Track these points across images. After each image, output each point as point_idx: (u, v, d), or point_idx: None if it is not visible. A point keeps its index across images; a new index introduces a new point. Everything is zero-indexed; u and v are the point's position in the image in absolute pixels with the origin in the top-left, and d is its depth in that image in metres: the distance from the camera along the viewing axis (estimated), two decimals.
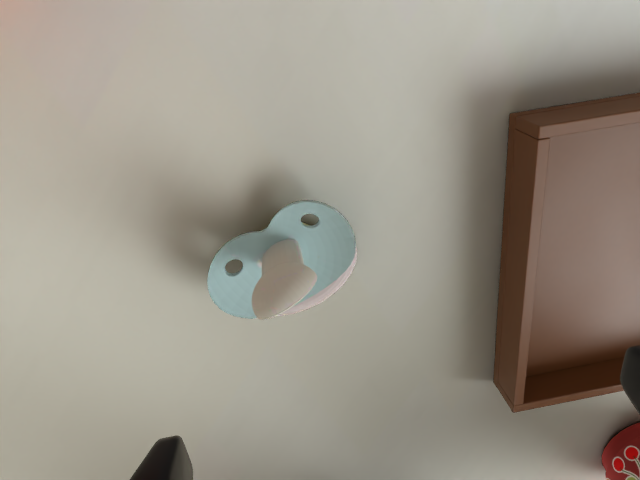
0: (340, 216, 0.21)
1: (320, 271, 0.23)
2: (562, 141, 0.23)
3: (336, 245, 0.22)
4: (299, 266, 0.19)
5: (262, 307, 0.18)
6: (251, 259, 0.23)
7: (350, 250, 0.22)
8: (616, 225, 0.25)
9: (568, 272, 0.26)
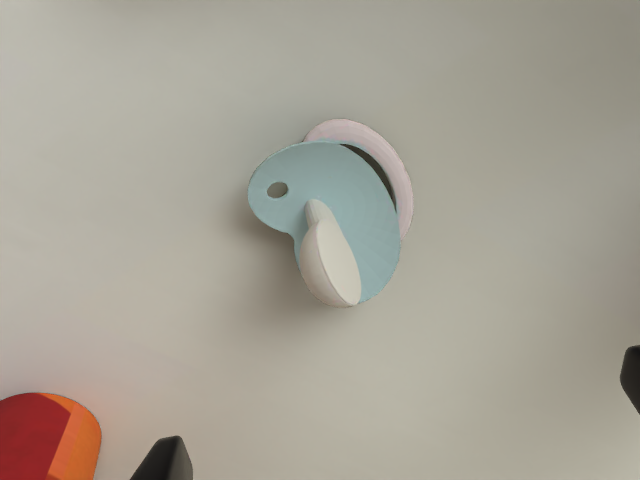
0: (263, 166, 0.17)
1: (350, 175, 0.18)
2: None
3: (310, 160, 0.17)
4: (300, 247, 0.16)
5: (336, 306, 0.15)
6: None
7: (315, 147, 0.17)
8: None
9: None
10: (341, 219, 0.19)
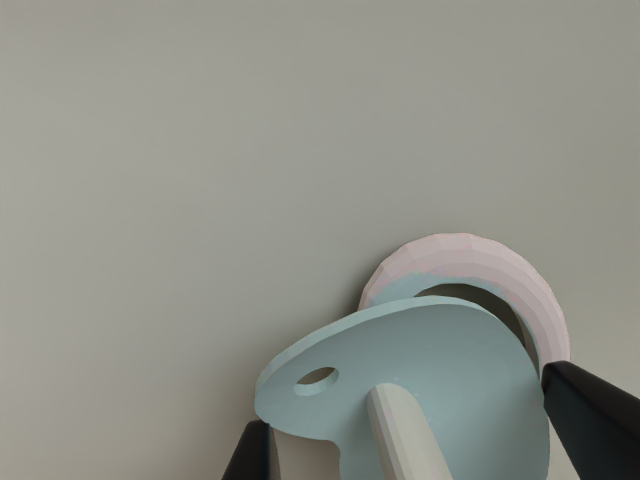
0: (293, 359, 0.07)
1: (467, 346, 0.09)
2: None
3: (394, 330, 0.08)
4: None
5: None
6: None
7: (412, 312, 0.07)
8: None
9: None
10: (433, 413, 0.10)
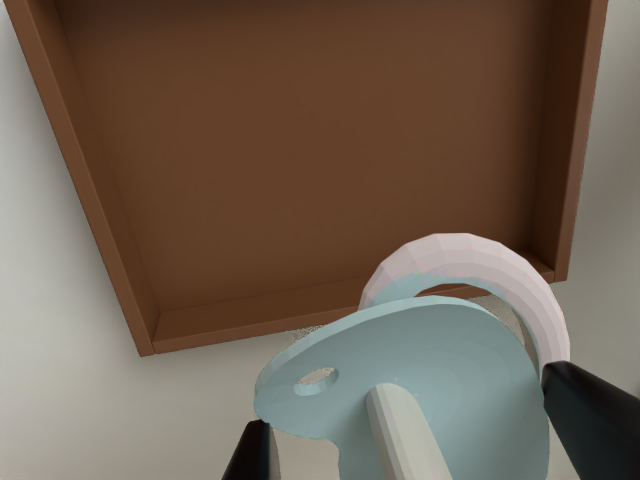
0: (294, 359, 0.07)
1: (467, 346, 0.09)
2: (172, 269, 0.19)
3: (394, 330, 0.08)
4: None
5: None
6: None
7: (413, 312, 0.07)
8: (288, 161, 0.17)
9: (359, 209, 0.19)
10: (433, 414, 0.10)
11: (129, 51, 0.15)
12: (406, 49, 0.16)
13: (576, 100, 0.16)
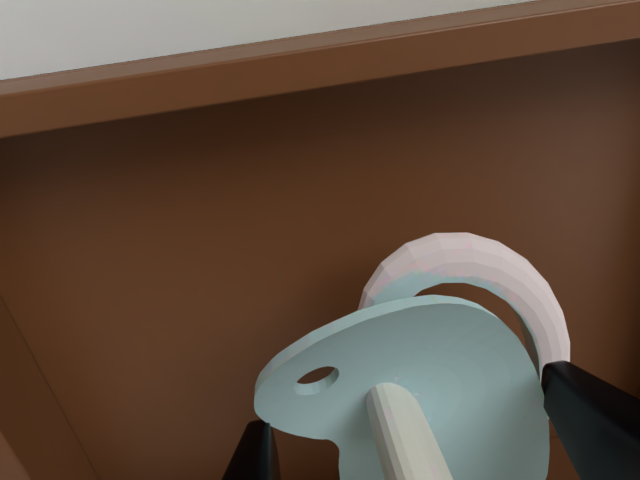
0: (293, 358, 0.07)
1: (467, 345, 0.09)
2: (140, 479, 0.13)
3: (394, 330, 0.08)
4: None
5: None
6: None
7: (413, 311, 0.07)
8: None
9: None
10: (433, 413, 0.10)
11: (57, 218, 0.10)
12: (483, 194, 0.11)
13: None
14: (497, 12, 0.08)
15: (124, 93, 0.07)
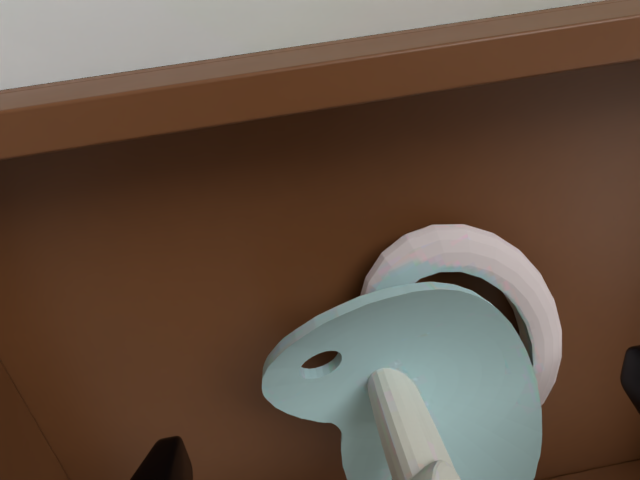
0: (300, 341, 0.08)
1: (463, 332, 0.09)
2: None
3: (394, 315, 0.08)
4: None
5: None
6: None
7: (412, 297, 0.08)
8: None
9: None
10: (431, 398, 0.10)
11: (43, 245, 0.09)
12: (514, 217, 0.10)
13: None
14: (539, 18, 0.07)
15: (115, 113, 0.06)
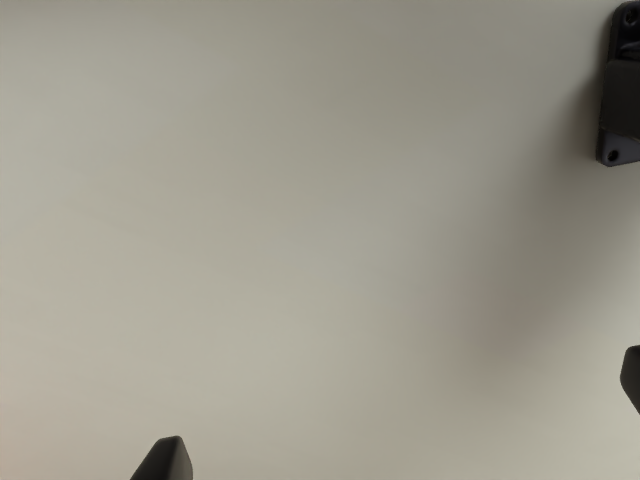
0: None
1: None
2: None
3: None
4: None
5: None
6: None
7: None
8: None
9: None
10: None
11: None
12: None
13: None
14: None
15: None
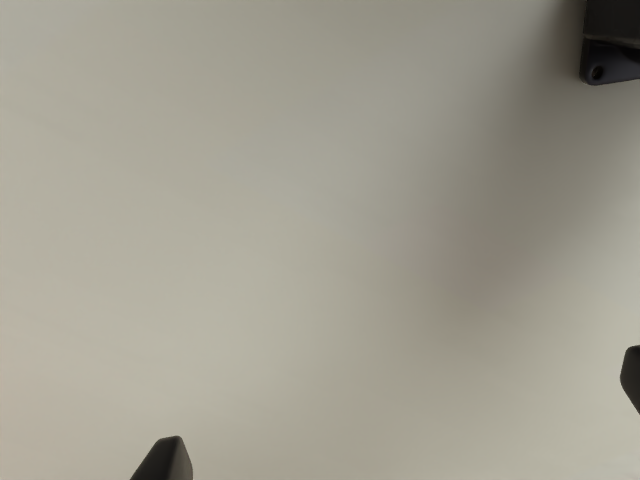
0: None
1: None
2: None
3: None
4: None
5: None
6: None
7: None
8: None
9: None
10: None
11: None
12: None
13: None
14: None
15: None
